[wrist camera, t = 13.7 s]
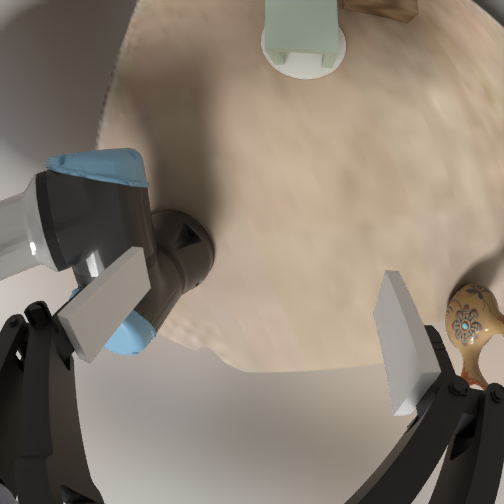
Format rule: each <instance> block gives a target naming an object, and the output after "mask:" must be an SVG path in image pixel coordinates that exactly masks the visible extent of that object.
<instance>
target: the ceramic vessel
mask: <svg viewBox="0 0 504 504" xmlns="http://www.w3.org/2000/svg"><path fill="white" fill-rule="evenodd" d="M445 323H446V324H445V325H446V331H447V334H448V337H449V339H450V341H451V342H452V344H453V345H454V346H455V347H457V348H458V349H459V351H460V352H461V354H462V357H463V370H462V373H461V377H462V378H464V379H465V380H466V381H467V383H468V384H469V386H470V385H473V384H476V385H478V386H480V387H481V388H483V390H485V389H486V388H487V387H488V385H489V384H488V383H487V382H486V380H485V379H484V377H483V376H482V374H481V372H480V369H479V366H478V359H479V354H480V352H481V349H482V348H483V346H484V345H485V344H486V343H487V342H488V341H489V340H490V339H491V338H492V336H493V335H494V334H502V335H503V336H504V315H503V314H501V312H500V311H499V308H498V304H497V301H496V298H495V296H494V295H493V293H492V292H491V291H490V290H489V289H488V288H487V287H486V286H484V285H481V284H477V283H472V284H468V285H465V286H463V287H462V288H460V289H459V290H458V291H457V292H456V293H455V294H454V295H453V297H452V299H451V300H450V302H449V305H448V308H447V311H446V318H445Z"/></svg>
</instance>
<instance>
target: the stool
mask: <svg viewBox="0 0 504 504" xmlns="http://www.w3.org/2000/svg"><path fill="white" fill-rule="evenodd" d="M264 49H265V50H266V52H267V53H268V55H269V57H270V58H271V60H272V62H273V63H274V65H284V54H283V52H296V53H312V54H323V56H322V67H323V68H332V67H333V65H334V62H335V60H336V58H337V56H338V53H339V43H338V12H337V0H265V48H264Z"/></svg>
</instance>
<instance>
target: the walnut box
mask: <svg viewBox="0 0 504 504" xmlns="http://www.w3.org/2000/svg"><path fill="white" fill-rule="evenodd" d="M344 9H345V10H351V11H357V12H363V13H368V14H373V15H378V16H382V17H386V18H390V19H394V20H398V21H402V22H405V23H408V22H409V21H410V20H412V19H413V18H414V17H415V16H416V15H417V14H418V7H417V1H416V0H344Z"/></svg>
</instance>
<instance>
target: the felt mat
mask: <svg viewBox="0 0 504 504" xmlns="http://www.w3.org/2000/svg"><path fill="white" fill-rule="evenodd" d="M338 43H339V53H338V56H337V58H336V60H335V62H334V65H333V67H332V68H323V67H322V56H323V54H312V53H296V52H283V54H284V65H274V63H273V62H272V60H271V58H270V57H269V55H268V53H267V52H266V50H265V49H264V48H265V27H264V29H263V32H262V35H261V47H262V51H263V53H264V55H265V57H266V59H267V60H268V62H269V63H270V64H271V65H272V66H273V67H274V68H275V69H276V70H278V71H279V72H281V73H283V74H285V75H287V76H289V77H292V78H296V79H304V80H310V79H317V78H321V77H324V76H326V75H328V74H330V73H332V72H333V71H334V70H335V69H337V68H338V66H339V65H340V64H341V62H342V60H343V58H344V56H345V52H346V40H345V36H344V34H343V32H342V30H341V29H340V27H339V26H338Z"/></svg>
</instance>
